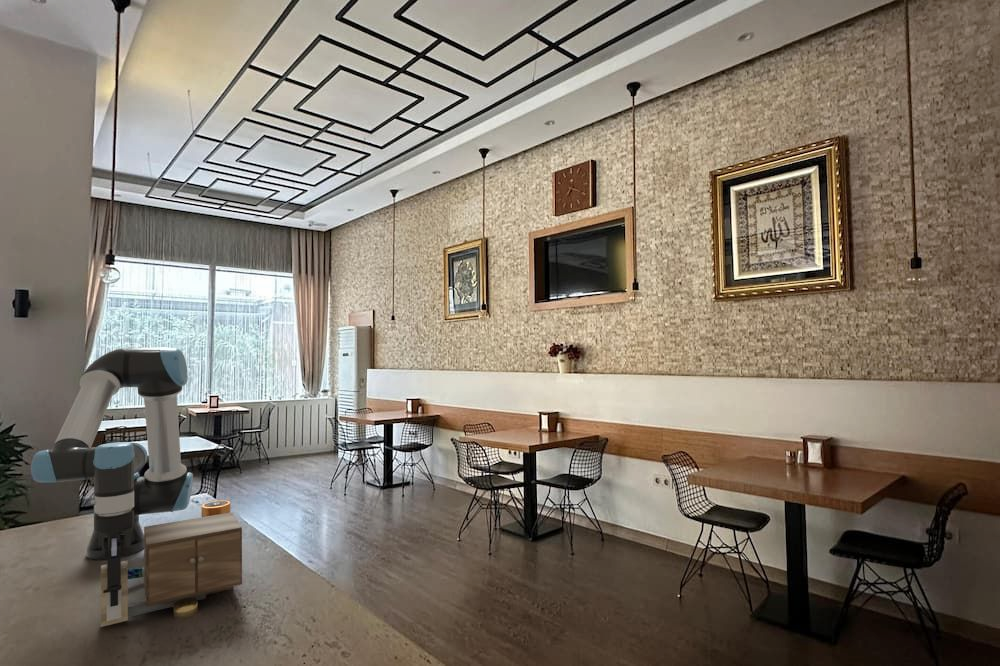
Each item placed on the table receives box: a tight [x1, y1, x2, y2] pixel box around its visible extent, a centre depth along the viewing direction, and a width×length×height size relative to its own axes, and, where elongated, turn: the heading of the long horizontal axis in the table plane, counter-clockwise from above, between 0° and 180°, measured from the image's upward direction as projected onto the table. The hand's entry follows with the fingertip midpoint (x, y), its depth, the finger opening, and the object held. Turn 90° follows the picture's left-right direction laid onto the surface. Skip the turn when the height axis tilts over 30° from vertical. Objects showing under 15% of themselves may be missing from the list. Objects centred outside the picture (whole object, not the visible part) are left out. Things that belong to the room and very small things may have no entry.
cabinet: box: [143, 511, 243, 606], centre depth 138 cm, size 16×20×18 cm
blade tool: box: [100, 560, 207, 628], centre depth 132 cm, size 5×21×12 cm, turn 124°
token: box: [173, 598, 199, 619], centre depth 133 cm, size 5×5×2 cm
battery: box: [201, 500, 231, 517], centre depth 154 cm, size 7×7×20 cm
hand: (114, 613), depth 127 cm, fingers closed on blade tool, 5 cm apart
